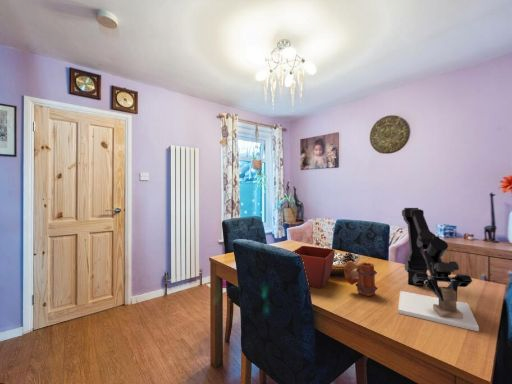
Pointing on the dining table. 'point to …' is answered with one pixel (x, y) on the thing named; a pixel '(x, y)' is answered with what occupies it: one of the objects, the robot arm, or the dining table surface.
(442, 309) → the brown pedestal block
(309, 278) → the plant pot
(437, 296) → the robot arm
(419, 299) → the board
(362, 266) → the mug
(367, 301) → the dining table surface
